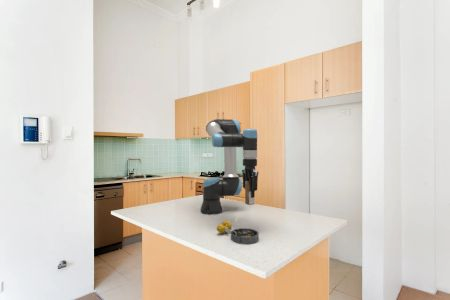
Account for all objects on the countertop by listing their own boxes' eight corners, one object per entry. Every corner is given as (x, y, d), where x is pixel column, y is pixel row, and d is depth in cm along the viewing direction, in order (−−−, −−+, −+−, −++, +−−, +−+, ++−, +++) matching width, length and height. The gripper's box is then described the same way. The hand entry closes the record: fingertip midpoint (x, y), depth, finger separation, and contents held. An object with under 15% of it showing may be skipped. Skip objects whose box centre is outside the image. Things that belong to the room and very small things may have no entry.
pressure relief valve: (213, 232, 124) (226, 228, 132) (232, 242, 116) (244, 236, 124) (215, 222, 123) (227, 218, 131) (233, 231, 116) (245, 226, 124)
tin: (226, 236, 121) (226, 229, 121) (249, 232, 126) (249, 226, 126) (239, 245, 109) (239, 238, 109) (263, 241, 114) (263, 234, 114)
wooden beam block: (245, 203, 130) (245, 180, 130) (250, 202, 131) (251, 180, 131) (248, 204, 127) (248, 181, 127) (254, 204, 128) (254, 181, 128)
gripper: (236, 157, 135) (236, 200, 135) (251, 159, 120) (251, 206, 120) (248, 157, 138) (248, 199, 138) (264, 159, 123) (264, 205, 123)
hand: (249, 202), depth 129 cm, fingers closed on wooden beam block, 3 cm apart
